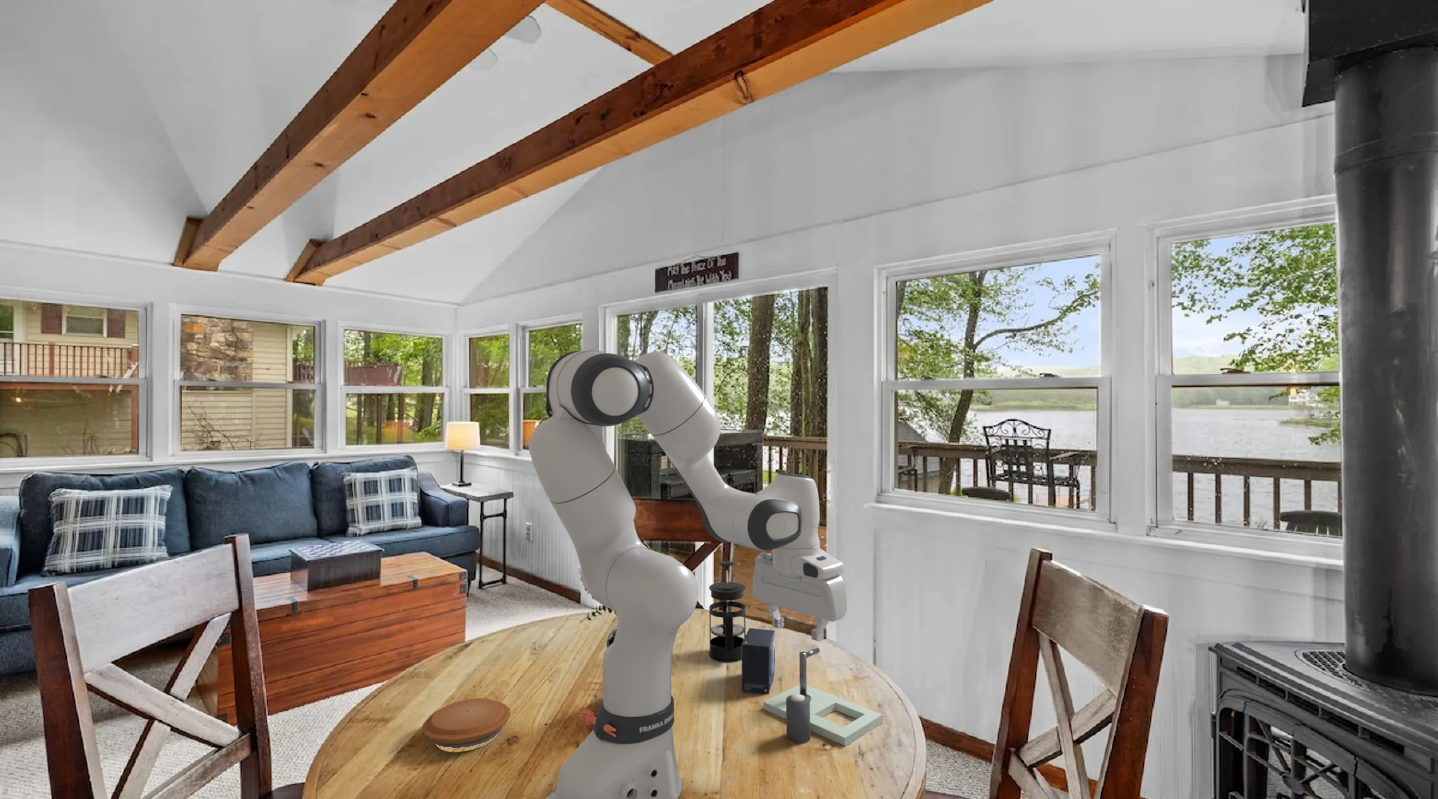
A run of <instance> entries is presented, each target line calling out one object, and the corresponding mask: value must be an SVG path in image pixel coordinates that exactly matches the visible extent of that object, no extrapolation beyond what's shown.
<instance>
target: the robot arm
mask: <svg viewBox="0 0 1438 799" xmlns="http://www.w3.org/2000/svg"><path fill="white" fill-rule="evenodd" d="M545 384H546V385H545V386H546V388H545V389H546V390H545V391H546V393H545V394H546V397H545V399H546V400H545V402H546V403H545V412H546V414H547V416H548V417H549V418H547V419H546V420H544V421H542V422H541V423H540V424H539V425H538V426H537V427H536V428H535V429H534V430H533V432H532V433H531V435H530V437H529V439H528V452H529V455H530V458H531V461H532V464H533V467H534V469H535V472H536V475H537V477H538V480H539V482H540V484H541V486H542V488H543V490H544V493H545V495H546V496H547V499H548V500H549V502H550V504H551V505H552V507H553V509H554V511H555V513H556V515H557V516H558V518H559V520H560V521H561V523H562V526H564V528H565V531H566V532H567V534H568V536H569V537H570V539H571V542H572V544H573V546H574V549H575V553H576V554H577V555H576V556H577V558H578V562H579V565H580V571H579V572H580V573H579V574H580V580H581V583H582V585H583V587H584V588H585V590H586V591H587V593H589V594H590V596H591V597H592V598H593V599H594V600H595V601H596V602H597V603H599V604H601V605H602V606H604V607H606V608H608V609H610V610H612V611H614V612H615V613H616V617H617V627H616V632H615V636H614V640H613V642H612V643H611V644H610V645H609V646H608V647H607V648H606V650H605V651H604V653H603V656H602V700H601V703H600V705H599V708H598V711H597V713H596V712H593V711H592V709H589V708H585V709H584V710H582V712H581V714H580V720H581V722H582V723H584V724H586V725H587V726H593V727H592V731H591V732H590V733H589V734H588V735H587V736H586V737H585V739H583V741H582V742H581V744H579V746H578V747H577V748H576V749H575V750H574V751H573V752H572V754H571V755H570V756H569V757H568V758H567V759H566V760H565V762H564V763H563V764H562V765H561V767H560V770H559V772H558V774H557V775H558V777H557V781H556V789H555V791H554V792H552V793H551V794H549V795H548V796H546V797H545V798H544V799H679V798H680V795H681V793H682V790H683V781H682V778H681V775H680V774H681V773H680V771H679V766H678V764H677V758H676V757H677V756H676V752H675V744H674V743H675V742H674V732H673V725H674V723H675V701H674V700H675V699H674V697H673V695H672V662H673V661H672V658H673V650H674V644H675V640H676V637H677V634H678V631H679V629H680V627H681V626H683V624H684V623H685V622H687V621H688V620H689V618H690V617H691V616H692V614H693V613H694V611H695V609H696V606H697V604H698V600H699V585H698V580H697V578H696V576H695V575H694V573H693V572H692V571H691V570H690V569H689V568H687V567H686V566H685V565H684V564H683V563H681V562H680V561H678V560H677V559H676V558H674V557H673V556H671V555H667V554H665V553H661V552H660V551H659V552H658V551H655V550H652V549H650V548H649V547H647V546H646V545H644V543H643V542H642V541H641V540H640V538H639V536H638V534H637V530H636V527H635V522H634V519H635V518H636V512H637V510H636V504H635V502H634V499H633V498H632V496H631V494H630V492H629V490H628V488H627V487H626V484H625V483H624V481H623V479H622V477H621V475H620V473H619V471H618V470H617V468H616V465H615V463H614V462H613V460H612V459H611V456H610V454H609V453H608V451H607V450H606V445H605V441H604V437H603V431H604V430H603V429H604V427H613V426H617V425H620V424H624V423H625V422H627V421H629V420H631V419H632V418H634V417H636V418H637V419H639V420H640V421H641V422H642V424H643V426H644V427H645V428H646V430H647V431H648V433H650V436H651V437H652V438H654V440H655V442H656V443H657V444H658V445H659V447H660V448H661V449H662V450H663V452H664V453H665V455H666V456H667V458H668V459H669V462H670V463H671V464H672V465H671V466H672V467H673V468H674V470H675V471H676V473H677V474H678V476H679V477H680V479H681V480H682V483H684V485H685V486H686V489H687V490H688V491H689V492H690V494H691V495H692V497H693V499H694V500H695V502H696V504H697V506H698V508H699V510H700V515H701V518H702V521H703V524H704V526H705V529H706V531H707V533H708V534H709V535H710V536H711V537H712V538H713V539H715V540H717V541H720V542H726V543H731V544H732V543H733V544H736V545H740V546H744V547H747V548H751V549H753V550H758V551H761V552H760V553H759V554H757V555H756V557H755V559H754V570H753V575H752V586H751V587H752V588H751V591H752V592H751V593H752V596H753V598H754V600H756V601H760V602H763V603H766V604H767V605H766V606H767V610H768V613H769V615H770V618H771V620H772V621H771V623H772V625H771V626H772V628H776V629H783V627H785V623H784V622H785V617H783V616H782V615H781V613H780V610H779V608H783V609H788V610H790V611H794V612H797V613H800V614H804V615H807V616H811V617H813V618H815V623H817V625H816V628H814V629H811V631H810V632H811V639H812V640H813V641H817V642H821V641H823V640H824V638H825V636H824V635H825V634H824V633H825V632H824V630H825V629H826V627H827V625H828V624H829V622H831V623H834V622H837V621H839V620H841V619H843V618H844V617H845V616H846V614H847V612H848V611H847V610H848V602H847V601H848V600H847V588H846V584H845V580H844V578H843V577H842V576H841V574H843V573H844V571H845V570H844V569H845V568H844V567H845V566H844V563H843V562H842V561H841V560H840V559H837V558H835V557H834V556H832V555H830V554H829V553H828V552H826V551H825V550H823V549H822V548H821V541H820V536H819V534H818V532H819V531H818V530H819V526H820V525H819V524H820V521H821V520H820V518H821V517H820V514H821V513H820V498H819V491H818V487H817V484H816V481H815V479H813V478H812V477H811V476H809V475H804V474H799V473H798V474H797V473H790V472H779V473H776V474H775V477H774V478H773V480H772V481H771V483H769V484H768V485H767V486H766V487H764V488H762V489H761V490H760V491H757V492H755V493H752V492H747V491H742V490H739V489H736V488H733V487H731V486H730V485H728V484H727V483H726V482H725V481H724V480H723V477H722V476H721V475H720V474H719V472H718V470H717V469H716V467H715V466H714V464H713V463H712V461H711V460H710V458H709V455H708V454H709V453H710V452H711V451H712V450H713V448H714V447H715V446H716V444H717V442H718V440H719V438H720V435H721V428H722V421H721V419H720V416H719V415H718V413H717V410H716V408H715V406H714V405H713V404H712V402H711V401H710V399H709V398H708V396H707V395H706V394H705V392H704V391H703V390H702V389H701V387H700V386H699V385H698V383H697V382H696V381H695V379H694V378H693V377H692V376H691V375H690V374H689V373H688V372H687V370H685V368H684V367H683V366H682V365H680V364H679V363H678V362H677V361H676V360H675V359H674V358H673V357H672V356H671V355H669V354H668V353H665V352H662V351H652V352H651V351H650V352H647V353H645V354H644V353H643V354H642V355H640V356H639V357H637V358H636V359H634V360H631V359H630V358H628V357H625V356H622V355H620V354H615V353H608V352H604V351H601V350H597V349H596V350H595V349H593V350H592V349H587V350H574V351H570V352H568V353H565V354H563V355H561V356H560V357H558V358H557V359H556V360H555V361H554V362H553V363H552V364H551V366H550V367H549V370H548V372H547V377H546V382H545ZM765 551H772V553H769V552H768V553H767V552H765Z"/></svg>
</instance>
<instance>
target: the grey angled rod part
mask: <svg viewBox="0 0 1438 799" xmlns="http://www.w3.org/2000/svg"><path fill="white" fill-rule="evenodd" d="M820 652H821V650H820V648H819V647H816V648H813V649H811V650H809V651H799V655H798V656H799V662H798V663H799V684H800V695H804V696H806V697H808V698H809V699H810V701H811V696H809V695H807V685H808V683H807V681H808V679H807V677H808V676H807V659H808V658H810V657H813V656H814V655H817V654H819V653H820Z"/></svg>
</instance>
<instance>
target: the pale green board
mask: <svg viewBox="0 0 1438 799" xmlns="http://www.w3.org/2000/svg"><path fill="white" fill-rule="evenodd" d="M794 694H800V683H799V684H797V685H796V686H794V687H792V688H789V689H787V690H785V691H784V692H780V693H779V694H776V695H775V696H773V697H770V698H768V699H766V700H765V701H763V710H765V711H767V712H769V713H771V714H773V715H776V716H778V717H780V718H782V719H784V720H786V698H787V697H788V696H790V695H794ZM807 695H809V696H811V701H810V732H813V733H815V734H818V735H820V736H822V737H824V738H827V739H829V740H831V741H833V742H835V743H837V744H839V745H842V746H844V747H846V746H848V745H849V744H851V743H852V742H855V741H856V740H858V739H859V738H861V737H862V736H864V735H866V733H868V732H869V731H871V730H873V729H874V728H877V727H878V726H880V725H881V724H883V721H884V719H883V717H884V716H883V714H882V713H880V712H876V711H874V710H871V709H869V708H867V707H864V706H862V705H859V704H856V703H853V702H851V701H849V700H846V699H844V698H841V697H839V696H836V695H833V694H831V693H828V692H825V691H824V690H821V689H818V688H816V687H813V686H810V685H808V684H807ZM835 711H838V712H840V713H842V714H845V715H847V716H849V717H852V718H854V720H853V721H852V722H850V723H848V724H847V725H844V726H842V725H840V724H838V723H837V722H833V721H831V720H829V719H826V718H824V717H825V716H828V715H829V714H831V713H832V712H835Z"/></svg>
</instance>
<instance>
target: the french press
mask: <svg viewBox="0 0 1438 799" xmlns="http://www.w3.org/2000/svg"><path fill="white" fill-rule="evenodd" d="M735 565H736V563H735V561H729V560H727V561H726V560H725V561H720V562H718V566H721V567H724V570H725V571H726V573H725V574H726V576H725V577H726V578H725V579H726V581H722V582H715V583H713V584H711V585H709V586H708V589H709V590H710V596H711V598H712V599H714V600H718V601H717V602H714V603H711V604H710V605H709V607H708V608H709V611H708V612H709V615H708V616H709V625H708V626H709V627H708V628H709V652H708V657H709V658H710V659H711V660H713V661H715V662H720V663H736V662H740V661H742V642H743V640H744V638H745V636H746V634H747V631H746V630H747V629H746V605H745V604H744V603H742V602H739V601H737V600H739V599H742V598H743V597H744V591H745V590H746V586H745V585H744V584H742V583H739V582H735V581H734V582H733V581H729V574H728V573H729V572H728V571H730V567H733V566H735ZM730 607H733V608H739V609H740V610H737V611H730V609H731V608H730ZM718 608H722V611H717V610H715V609H718ZM712 616H713V617H716V618H721V619H722V623H720V624H715V625H713V626H712V623H711V622H712V621H711V620H712V618H711V617H712ZM741 616H743V626H742V625H741V624H737V623H734V618H739V617H741ZM712 635H714V637H712ZM741 635H744V636H743V637H741Z"/></svg>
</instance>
